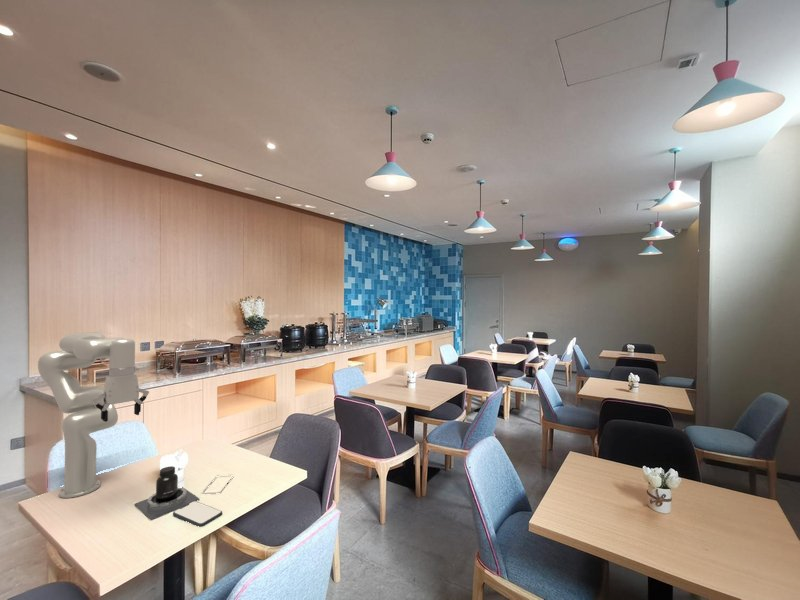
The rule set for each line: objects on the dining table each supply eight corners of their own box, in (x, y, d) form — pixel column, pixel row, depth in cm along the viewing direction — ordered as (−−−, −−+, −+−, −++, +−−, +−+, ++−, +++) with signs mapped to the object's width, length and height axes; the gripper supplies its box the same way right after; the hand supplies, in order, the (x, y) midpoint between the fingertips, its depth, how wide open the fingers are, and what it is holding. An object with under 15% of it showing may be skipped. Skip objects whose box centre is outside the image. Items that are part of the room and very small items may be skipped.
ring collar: (134, 505, 131) (134, 498, 131) (181, 487, 144) (181, 481, 144) (150, 520, 121) (150, 512, 122) (199, 500, 134) (199, 493, 134)
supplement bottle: (166, 507, 129) (167, 474, 129) (151, 505, 130) (151, 472, 130) (181, 497, 135) (182, 465, 136) (166, 495, 137) (167, 464, 137)
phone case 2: (219, 495, 139) (234, 477, 154) (219, 491, 139) (234, 474, 154) (200, 496, 138) (216, 478, 153) (200, 492, 138) (216, 474, 153)
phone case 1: (223, 515, 125) (194, 504, 132) (224, 511, 125) (195, 500, 132) (200, 529, 117) (170, 516, 124) (200, 525, 117) (171, 512, 124)
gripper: (145, 367, 142) (144, 410, 142) (89, 374, 128) (88, 421, 128) (152, 369, 138) (151, 413, 137) (95, 376, 124) (94, 425, 123)
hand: (121, 417), depth 132 cm, fingers open, 9 cm apart
